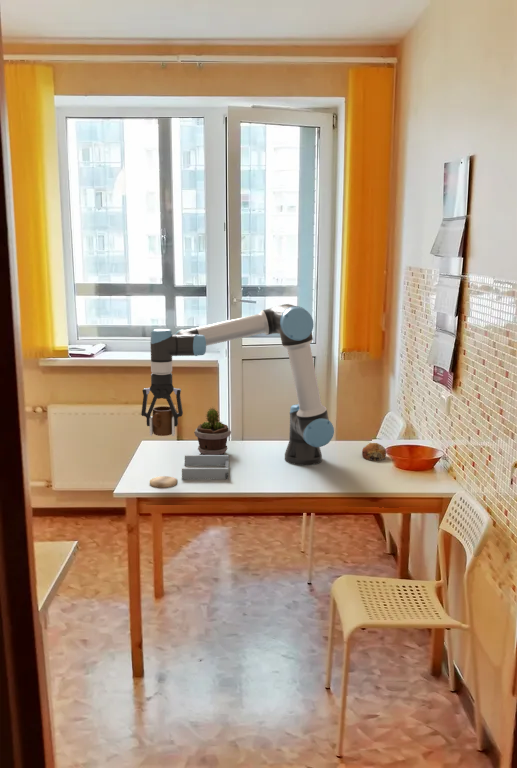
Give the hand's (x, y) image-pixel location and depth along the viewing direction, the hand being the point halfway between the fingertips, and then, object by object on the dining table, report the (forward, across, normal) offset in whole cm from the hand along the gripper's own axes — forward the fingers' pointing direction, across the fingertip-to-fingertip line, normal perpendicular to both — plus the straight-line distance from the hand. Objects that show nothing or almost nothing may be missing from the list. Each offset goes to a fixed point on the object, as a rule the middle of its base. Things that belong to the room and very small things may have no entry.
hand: (162, 434), depth 240 cm
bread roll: (+18, -84, -30) cm, 90 cm away
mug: (+1, +1, 0) cm, 1 cm away
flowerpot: (+18, -17, -33) cm, 41 cm away
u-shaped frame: (+17, -15, -10) cm, 25 cm away
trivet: (+17, -1, +3) cm, 18 cm away
